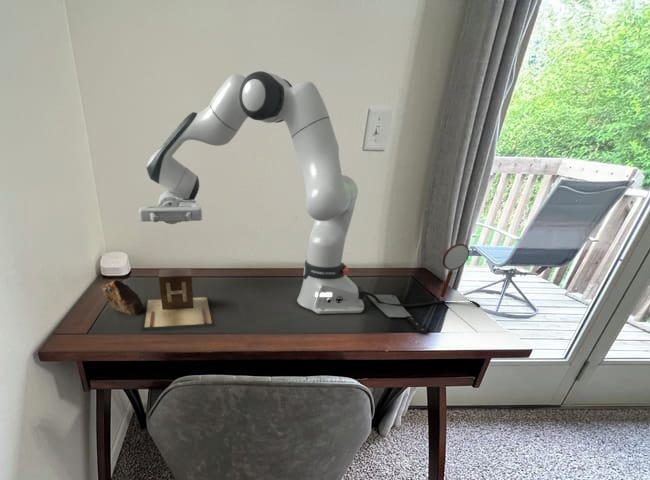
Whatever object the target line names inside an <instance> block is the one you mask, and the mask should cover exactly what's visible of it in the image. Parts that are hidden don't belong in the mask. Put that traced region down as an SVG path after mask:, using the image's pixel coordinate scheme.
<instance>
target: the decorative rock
mask: <svg viewBox="0 0 650 480" xmlns="http://www.w3.org/2000/svg"><path fill="white" fill-rule="evenodd" d="M101 289H102V292H103V294H104V296H105V298H106V299H107V301H108V302H109V304H110V307H111V308H112V309H114V310H116V311H118V312H121V313H125V314H128V315H131V316H136V315H138V314H139V313H140V312H142V310H143V303H142V300H141V298H140V296H139V295H138V293H137V292H136V291H134V290H133V289H132V288H131V287H130V286H129V285H127V284H125V283H124V282H121V281H120V280H116V279H115V280H113V281H111V282H108V283H103V284H102V285H101Z"/></svg>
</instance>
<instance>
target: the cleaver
mask: <svg viewBox="0 0 650 480" xmlns="http://www.w3.org/2000/svg"><path fill="white" fill-rule="evenodd" d="M372 294H373V293H372ZM373 295H375V296H376V297H377V298H378V299H379V300H380V301H382V302H384V303H389V304H401V302H400V301H399V299H398V297H397V296H396V295H392V294H373ZM366 296H367V297H368V298H369V299H370V301H371V302H372V303H373V304H374V305H375V306H376V307H377V308H378V309H379V310H380V311H381V312H382V313H384V315H386V316H387V317H388V318H405V319H407V321H409V323H411V324H412V325H413V327H414V328H415V331H416V332H417V333H420V334H423V335H426V334H427V333H428V329H426V328H425V327H424V326H423V325H422V324H421V323H420V322H419V321H418V320H417V319H416V318H414V316H412V315H411V314H410V313H409V312H408V311H407V309H406V308H405V307H403V306H394V305H389V304H382V303H378V302H377V301H376V300H375V299H374V298H373V297H371V296H369V295H366Z"/></svg>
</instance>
